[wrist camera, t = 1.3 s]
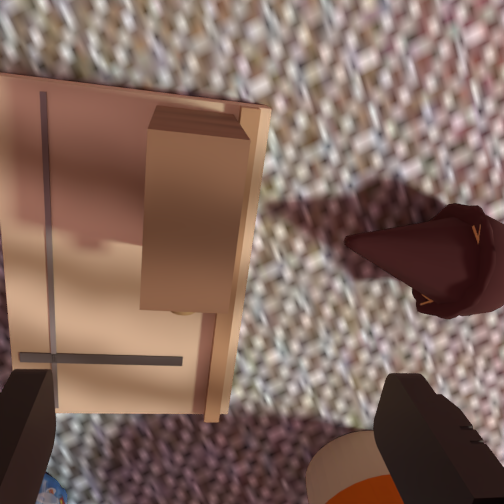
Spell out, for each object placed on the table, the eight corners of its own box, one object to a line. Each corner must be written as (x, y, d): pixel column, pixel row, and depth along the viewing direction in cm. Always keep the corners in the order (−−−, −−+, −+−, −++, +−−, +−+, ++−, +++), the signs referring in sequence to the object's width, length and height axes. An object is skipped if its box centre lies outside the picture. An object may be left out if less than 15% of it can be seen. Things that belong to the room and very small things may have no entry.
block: (156, 105, 24) (147, 128, 18) (233, 114, 25) (250, 140, 19) (148, 262, 28) (138, 328, 21) (216, 266, 28) (225, 332, 22)
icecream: (335, 332, 26) (540, 357, 30) (403, 226, 21) (629, 274, 26) (306, 251, 31) (484, 283, 36) (356, 153, 27) (551, 204, 31)
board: (-2, 72, 24) (-19, 75, 22) (267, 105, 26) (274, 111, 24) (23, 397, 32) (12, 421, 30) (225, 399, 35) (228, 422, 33)
